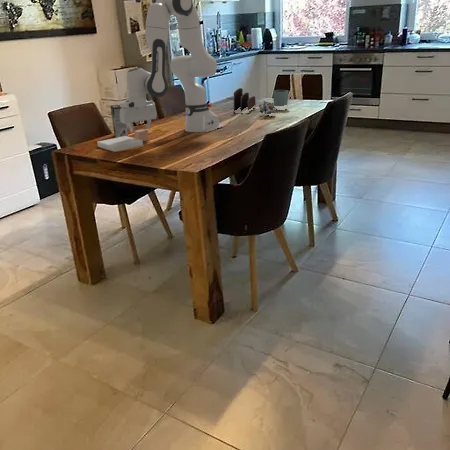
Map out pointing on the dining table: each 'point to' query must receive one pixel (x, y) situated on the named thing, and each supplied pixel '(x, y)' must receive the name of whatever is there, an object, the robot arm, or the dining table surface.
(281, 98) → the grey tapered pot
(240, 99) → the letter holder
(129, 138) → the base plate
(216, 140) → the dining table surface
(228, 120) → the dining table surface
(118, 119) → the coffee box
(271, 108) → the passion flower
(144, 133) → the terracotta block
